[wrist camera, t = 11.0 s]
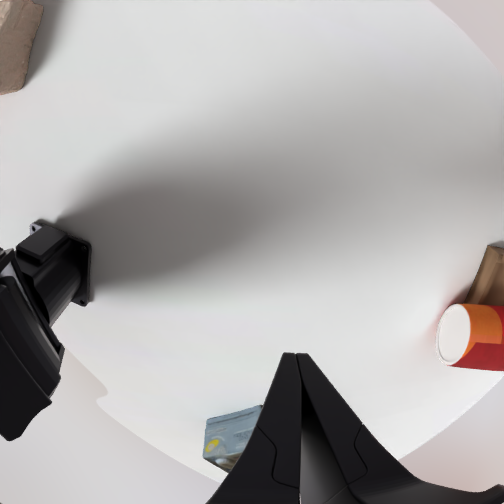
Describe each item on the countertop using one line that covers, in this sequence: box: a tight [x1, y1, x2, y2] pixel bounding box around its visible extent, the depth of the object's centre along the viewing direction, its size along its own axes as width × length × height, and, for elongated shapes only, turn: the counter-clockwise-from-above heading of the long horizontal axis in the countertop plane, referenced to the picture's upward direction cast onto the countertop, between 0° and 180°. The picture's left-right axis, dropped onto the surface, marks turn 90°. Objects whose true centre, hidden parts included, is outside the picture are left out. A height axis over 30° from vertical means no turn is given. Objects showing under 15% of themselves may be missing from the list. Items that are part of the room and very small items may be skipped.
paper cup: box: [435, 304, 504, 371], centre depth 20 cm, size 8×8×14 cm
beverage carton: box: [202, 405, 300, 490], centre depth 31 cm, size 8×19×7 cm, turn 30°
